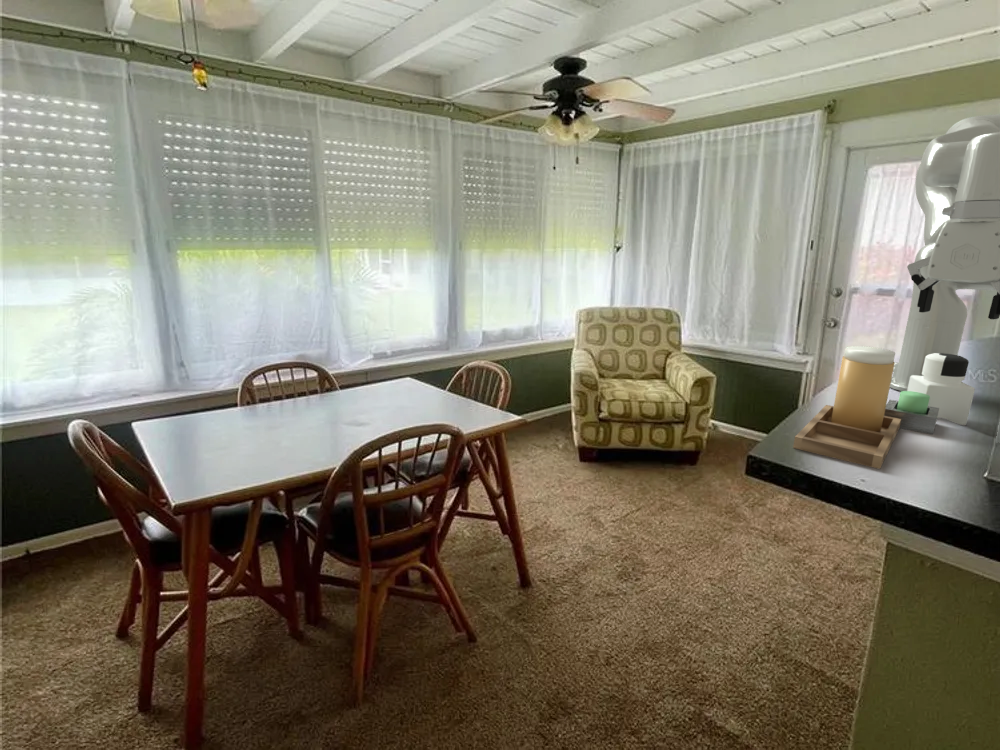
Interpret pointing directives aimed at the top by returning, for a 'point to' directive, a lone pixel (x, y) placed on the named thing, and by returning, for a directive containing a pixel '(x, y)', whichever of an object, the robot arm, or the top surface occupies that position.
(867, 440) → the wooden tray
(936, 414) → the button pedestal
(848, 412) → the bottle
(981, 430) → the top surface
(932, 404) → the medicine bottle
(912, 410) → the button
